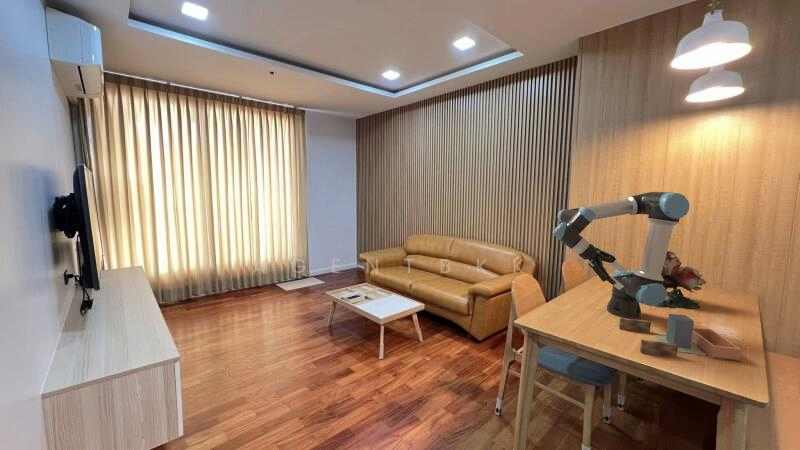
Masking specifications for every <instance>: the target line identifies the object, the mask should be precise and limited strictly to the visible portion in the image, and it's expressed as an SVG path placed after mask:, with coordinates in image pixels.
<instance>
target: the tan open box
mask: <svg viewBox="0 0 800 450" xmlns="http://www.w3.org/2000/svg"><path fill="white" fill-rule="evenodd" d="M691 343H692V344H693V345H694V346H696V347H697V348H698V349H699V350H701V351H702V352H703V353H705V354H706V355H707V356H708V357H710V358H711V359H713V360H714V359H715V360H725V361H731V362H741V360H742V359H741V358H742V357H741V356H742V348H741V347H739V346H738V345H736V344H735V343H733V342H731V341H730V340H728V339H727V338H725V337H723V336H722V335H721V334H719V332H716V331H715V330H713V329H710V328H700V327H693V333H692V341H691Z"/></svg>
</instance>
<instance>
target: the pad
mask: <svg viewBox="0 0 800 450" xmlns="http://www.w3.org/2000/svg"><path fill="white" fill-rule="evenodd" d="M666 336H667V335H657V334H653V337H654V338H655V339H657V341H658V342H666V343H669V342H668V341H667V340H666ZM677 353H682V354H683V353H684V354H693V355H701V356H706V355H707V354H706V353H705V352H703V351H702V350H701V349H699V348H698V347H697V346H696V345H694V344H693V343H692V342H691V349H690V348H682V347H678V352H677Z"/></svg>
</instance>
